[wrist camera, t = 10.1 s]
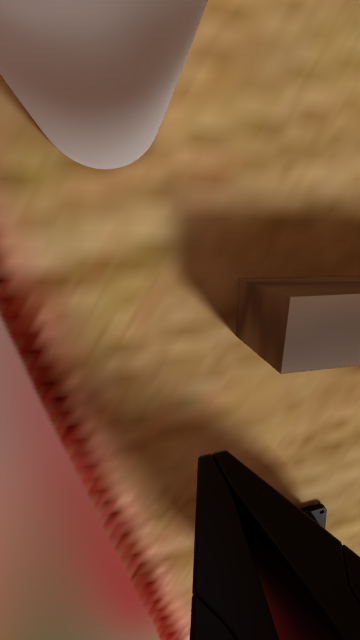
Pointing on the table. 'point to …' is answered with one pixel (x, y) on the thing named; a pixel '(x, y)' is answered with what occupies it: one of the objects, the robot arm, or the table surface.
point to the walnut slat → (301, 321)
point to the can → (97, 70)
